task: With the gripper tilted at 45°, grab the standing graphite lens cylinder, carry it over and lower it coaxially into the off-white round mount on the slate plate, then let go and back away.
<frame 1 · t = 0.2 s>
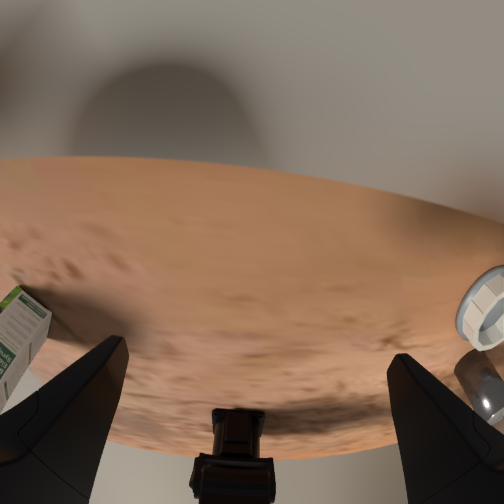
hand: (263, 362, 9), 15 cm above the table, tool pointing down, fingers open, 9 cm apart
lens: (469, 362, 30), on the table
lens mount: (487, 303, 26), on the table
syrup box: (33, 312, 28), on the table
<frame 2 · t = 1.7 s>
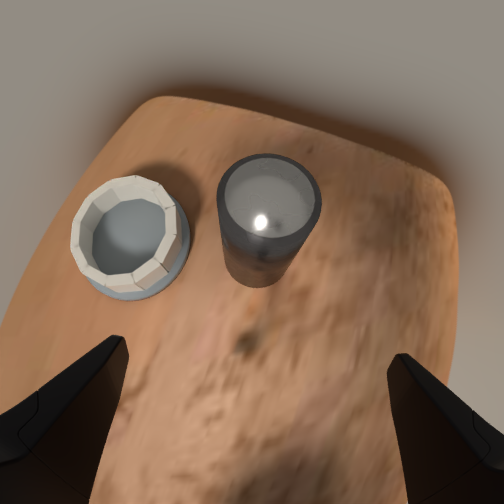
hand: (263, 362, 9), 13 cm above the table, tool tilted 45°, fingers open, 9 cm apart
lens: (256, 255, 24), on the table
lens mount: (133, 241, 24), on the table
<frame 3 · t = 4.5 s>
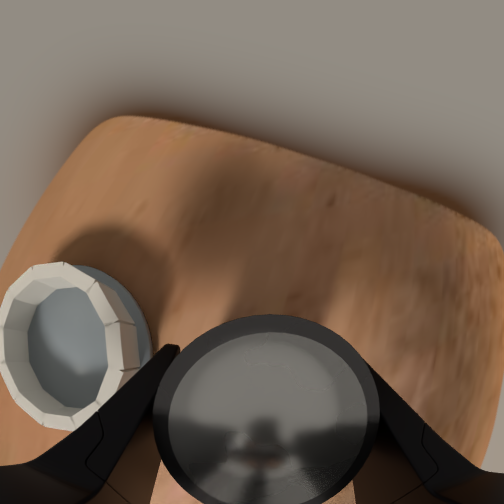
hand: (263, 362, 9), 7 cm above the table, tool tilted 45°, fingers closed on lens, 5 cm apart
lens: (250, 379, 15), on the table, touching gripper
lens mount: (77, 348, 15), on the table
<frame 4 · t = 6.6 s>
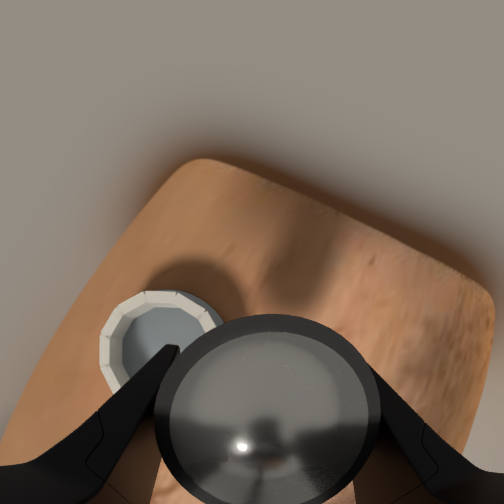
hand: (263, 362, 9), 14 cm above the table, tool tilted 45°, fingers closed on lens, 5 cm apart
lens: (251, 379, 15), point 6 cm above the table, touching gripper
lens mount: (169, 354, 21), on the table
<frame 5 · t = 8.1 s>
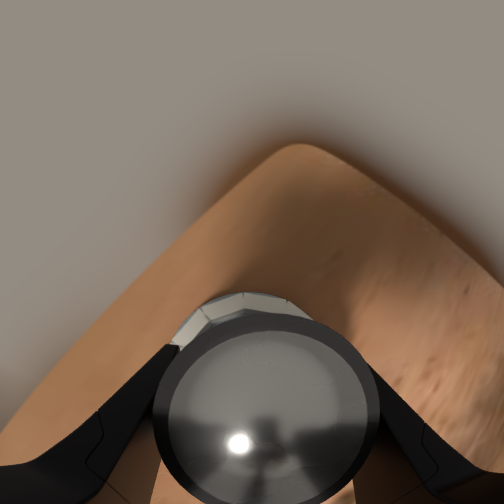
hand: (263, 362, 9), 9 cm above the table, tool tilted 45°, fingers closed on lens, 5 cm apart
lens: (250, 379, 15), point 2 cm above the table, touching gripper
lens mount: (249, 373, 17), on the table
when the fingers open (9 cm above the table, at t = 9.0 s): lens drops 1 cm, resting on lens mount.
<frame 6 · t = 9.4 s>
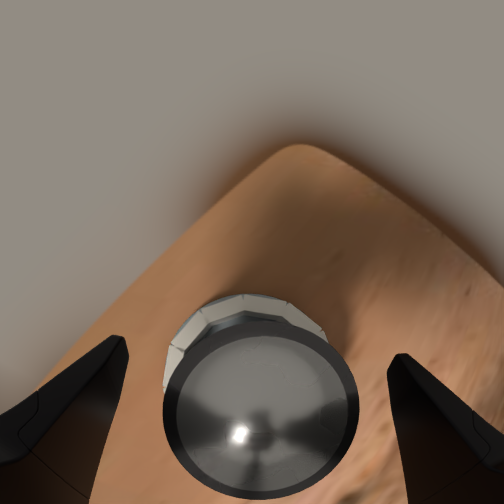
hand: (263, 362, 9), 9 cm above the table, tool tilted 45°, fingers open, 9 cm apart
lens: (248, 378, 16), point 1 cm above the table, touching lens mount
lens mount: (249, 375, 17), on the table
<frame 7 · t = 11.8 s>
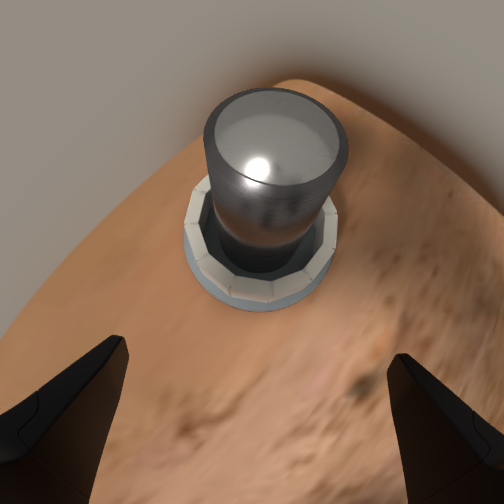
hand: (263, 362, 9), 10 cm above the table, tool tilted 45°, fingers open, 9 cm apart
lens: (259, 234, 19), point 1 cm above the table, touching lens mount
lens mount: (259, 237, 20), on the table
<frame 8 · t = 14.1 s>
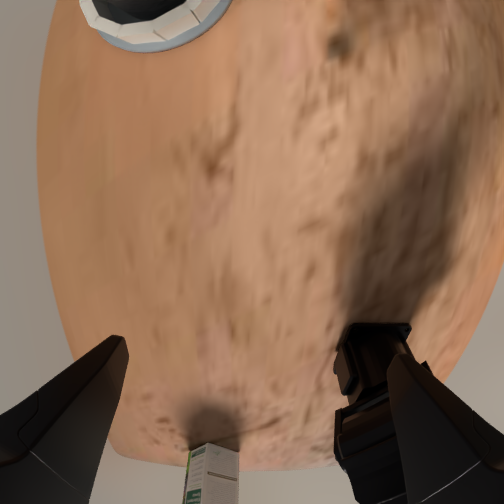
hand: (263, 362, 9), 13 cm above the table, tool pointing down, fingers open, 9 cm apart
syrup box: (214, 451, 37), on the table
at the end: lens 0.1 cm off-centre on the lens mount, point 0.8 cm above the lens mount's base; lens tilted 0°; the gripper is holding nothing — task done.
